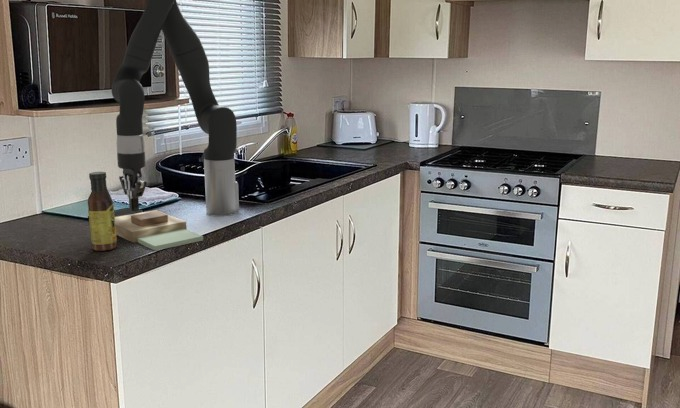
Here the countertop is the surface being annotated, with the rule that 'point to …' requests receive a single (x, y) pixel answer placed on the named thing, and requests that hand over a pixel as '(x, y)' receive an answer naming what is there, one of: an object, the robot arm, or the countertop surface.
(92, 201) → the sauce bottle
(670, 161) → the countertop surface
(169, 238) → the sage mat
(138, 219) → the brown wooden block
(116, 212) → the phone
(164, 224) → the butcher block
